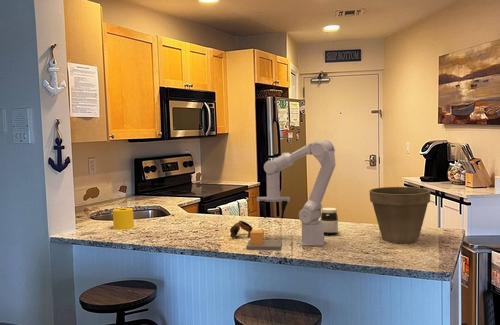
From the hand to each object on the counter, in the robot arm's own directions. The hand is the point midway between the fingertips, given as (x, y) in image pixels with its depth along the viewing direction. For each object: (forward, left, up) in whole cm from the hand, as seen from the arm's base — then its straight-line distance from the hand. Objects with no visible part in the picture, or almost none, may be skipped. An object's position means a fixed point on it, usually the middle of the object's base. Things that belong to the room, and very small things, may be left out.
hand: (273, 217), depth 203 cm
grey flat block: (+3, +14, -9) cm, 17 cm away
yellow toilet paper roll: (+79, -21, -10) cm, 82 cm away
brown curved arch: (+16, -3, -10) cm, 19 cm away
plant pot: (-54, 0, -10) cm, 55 cm away
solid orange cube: (+6, +14, -8) cm, 17 cm away
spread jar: (-23, -11, -10) cm, 27 cm away
